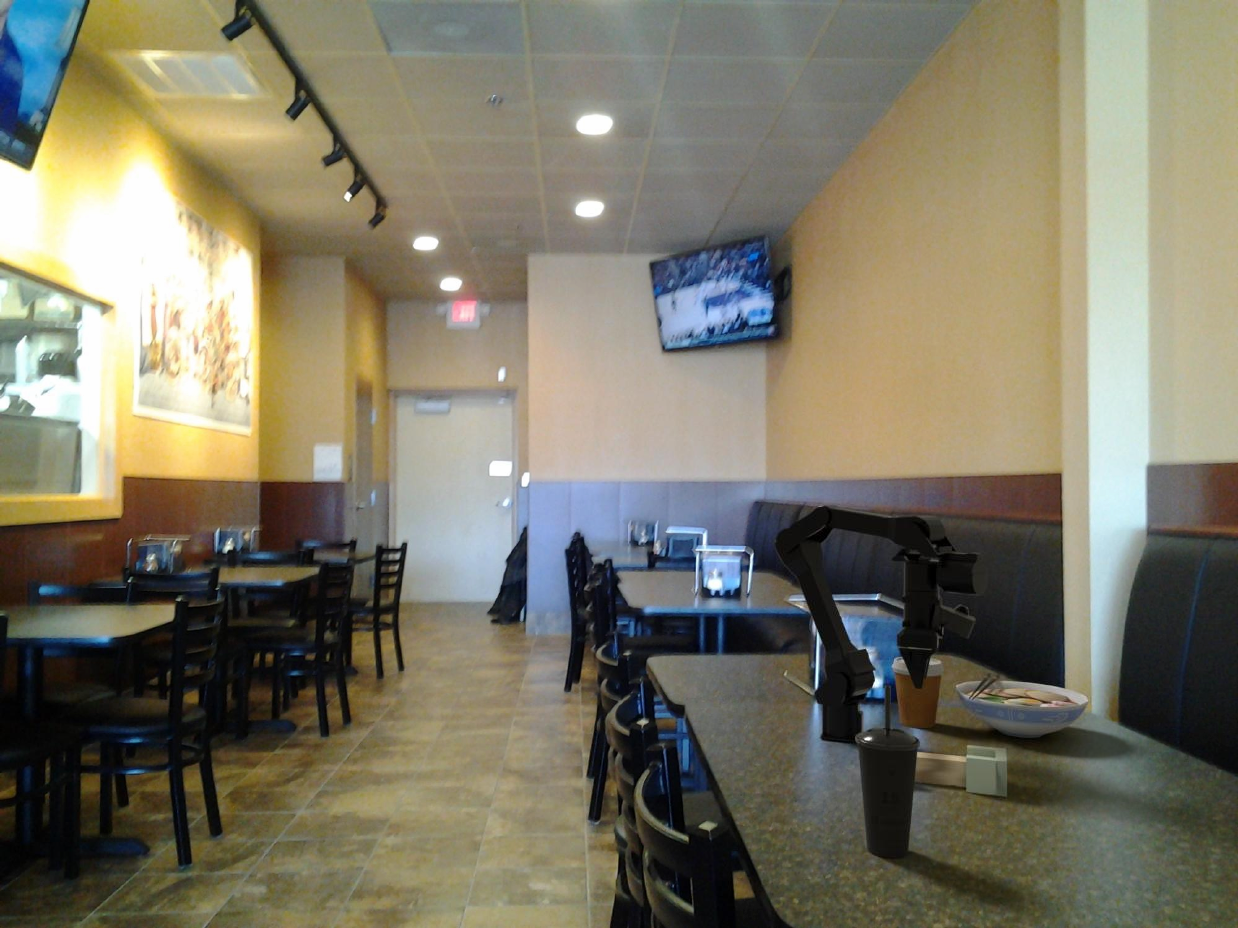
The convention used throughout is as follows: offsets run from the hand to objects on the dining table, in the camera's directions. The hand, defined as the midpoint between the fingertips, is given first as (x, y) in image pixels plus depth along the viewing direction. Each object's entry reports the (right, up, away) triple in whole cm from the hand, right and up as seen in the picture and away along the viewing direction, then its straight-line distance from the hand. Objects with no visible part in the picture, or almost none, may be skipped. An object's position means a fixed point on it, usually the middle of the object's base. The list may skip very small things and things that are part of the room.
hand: (920, 683), depth 157 cm
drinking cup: (-18, -11, -43) cm, 47 cm away
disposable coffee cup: (+6, -13, +21) cm, 25 cm away
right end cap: (+4, -12, -17) cm, 21 cm away
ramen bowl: (+23, -13, +15) cm, 31 cm away
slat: (-2, -12, -14) cm, 19 cm away
